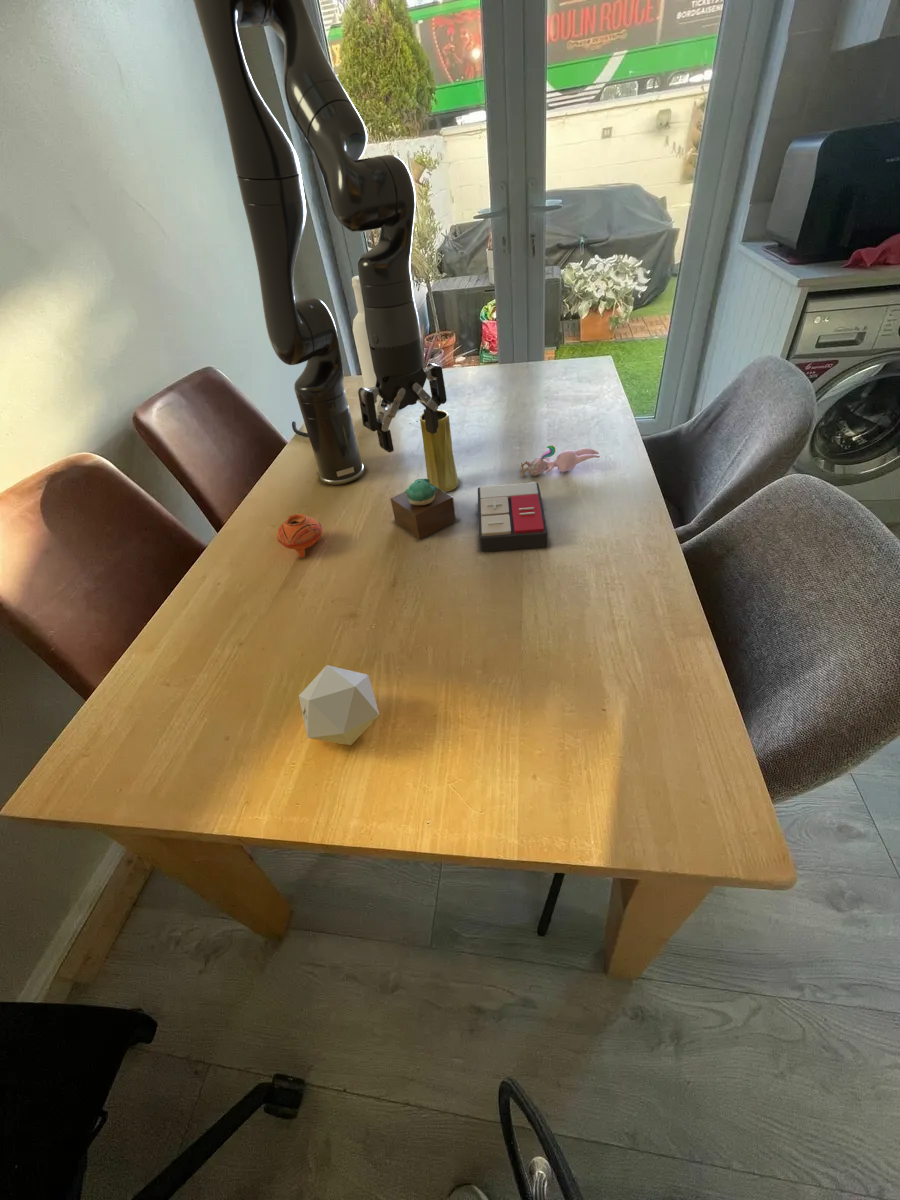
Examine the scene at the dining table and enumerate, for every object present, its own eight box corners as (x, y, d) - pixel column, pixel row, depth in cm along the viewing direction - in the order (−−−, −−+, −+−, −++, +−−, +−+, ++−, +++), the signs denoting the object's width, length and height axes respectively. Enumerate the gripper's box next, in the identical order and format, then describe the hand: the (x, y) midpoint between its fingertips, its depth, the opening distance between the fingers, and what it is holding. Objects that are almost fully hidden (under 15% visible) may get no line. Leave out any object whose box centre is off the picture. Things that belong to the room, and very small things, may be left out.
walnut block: (395, 522, 101) (390, 498, 97) (430, 504, 104) (426, 481, 101) (419, 539, 96) (415, 515, 92) (456, 521, 99) (453, 496, 95)
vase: (455, 493, 106) (447, 422, 97) (424, 493, 107) (413, 423, 98) (461, 477, 110) (453, 408, 101) (431, 477, 112) (421, 409, 102)
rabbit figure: (524, 487, 107) (603, 470, 104) (518, 460, 103) (600, 441, 100) (522, 472, 112) (597, 455, 109) (517, 445, 108) (594, 427, 105)
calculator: (478, 534, 88) (477, 483, 99) (480, 555, 91) (478, 503, 102) (547, 529, 87) (538, 478, 98) (547, 550, 90) (538, 498, 101)
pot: (271, 559, 95) (262, 522, 92) (297, 543, 102) (290, 507, 99) (310, 564, 93) (302, 525, 90) (334, 546, 99) (328, 510, 96)
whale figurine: (404, 509, 94) (400, 490, 92) (407, 487, 100) (404, 468, 97) (438, 506, 94) (435, 487, 91) (439, 485, 99) (437, 465, 97)
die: (331, 694, 72) (273, 683, 64) (384, 663, 69) (330, 648, 61) (346, 756, 68) (286, 753, 60) (402, 726, 66) (348, 719, 57)
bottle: (398, 413, 138) (374, 278, 119) (367, 416, 139) (339, 282, 119) (401, 400, 144) (378, 270, 125) (371, 404, 145) (344, 274, 125)
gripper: (420, 318, 84) (432, 420, 95) (338, 344, 78) (361, 449, 89) (449, 327, 79) (459, 433, 90) (364, 355, 74) (385, 465, 84)
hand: (410, 441), depth 90 cm, fingers open, 8 cm apart
